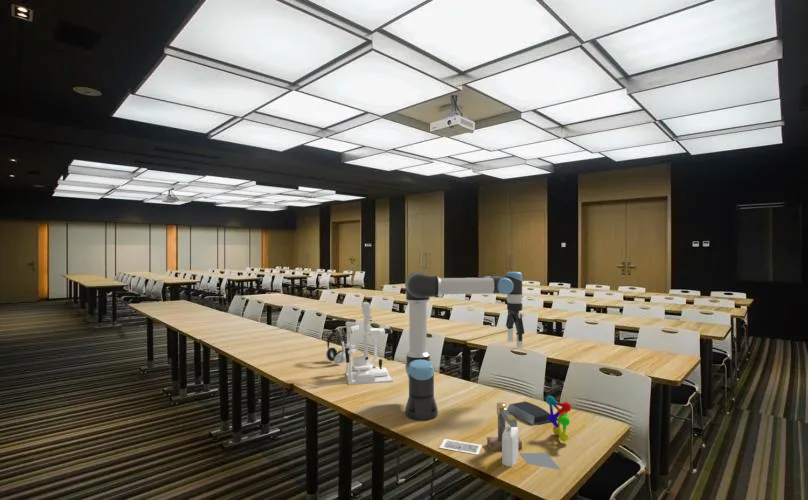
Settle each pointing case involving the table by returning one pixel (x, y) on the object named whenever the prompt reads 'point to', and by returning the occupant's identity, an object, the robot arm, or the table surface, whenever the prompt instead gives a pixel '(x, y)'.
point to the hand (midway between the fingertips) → (514, 344)
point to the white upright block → (509, 446)
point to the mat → (540, 460)
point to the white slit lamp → (365, 354)
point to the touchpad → (461, 446)
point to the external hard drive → (529, 412)
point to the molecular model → (562, 417)
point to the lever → (506, 414)
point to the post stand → (499, 436)
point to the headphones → (332, 353)
